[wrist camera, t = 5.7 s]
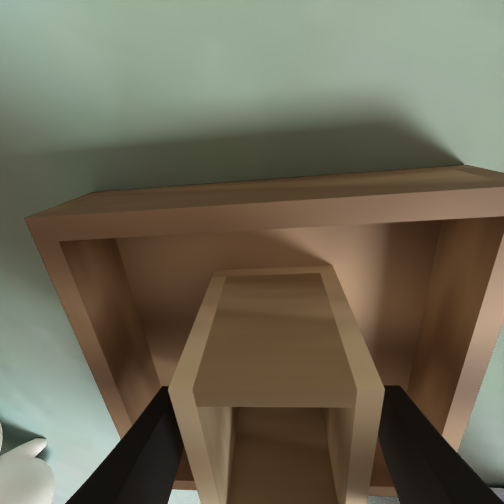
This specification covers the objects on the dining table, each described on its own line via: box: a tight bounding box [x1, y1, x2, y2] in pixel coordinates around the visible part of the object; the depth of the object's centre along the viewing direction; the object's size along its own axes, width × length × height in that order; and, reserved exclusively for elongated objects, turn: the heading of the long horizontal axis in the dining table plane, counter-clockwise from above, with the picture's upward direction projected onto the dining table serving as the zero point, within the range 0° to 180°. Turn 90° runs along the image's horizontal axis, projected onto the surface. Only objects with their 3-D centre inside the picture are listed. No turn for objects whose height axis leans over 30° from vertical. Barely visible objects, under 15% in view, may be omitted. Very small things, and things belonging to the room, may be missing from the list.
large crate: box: [24, 165, 504, 497], centre depth 12 cm, size 15×15×4 cm
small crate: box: [168, 265, 385, 504], centre depth 11 cm, size 7×5×6 cm
